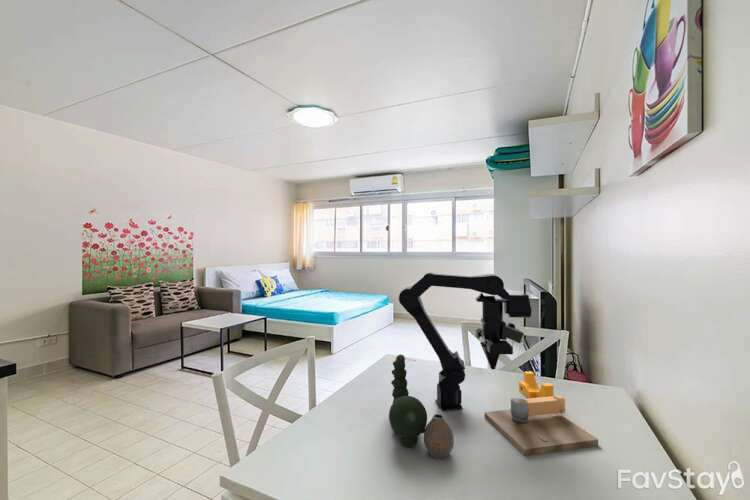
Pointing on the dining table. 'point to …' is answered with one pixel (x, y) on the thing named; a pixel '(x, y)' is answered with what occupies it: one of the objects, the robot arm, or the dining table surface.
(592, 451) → the dining table surface
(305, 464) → the dining table surface
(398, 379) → the toy figurine
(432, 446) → the vase
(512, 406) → the latch lever
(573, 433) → the mount plate
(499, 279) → the robot arm
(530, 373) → the pipe clamp
